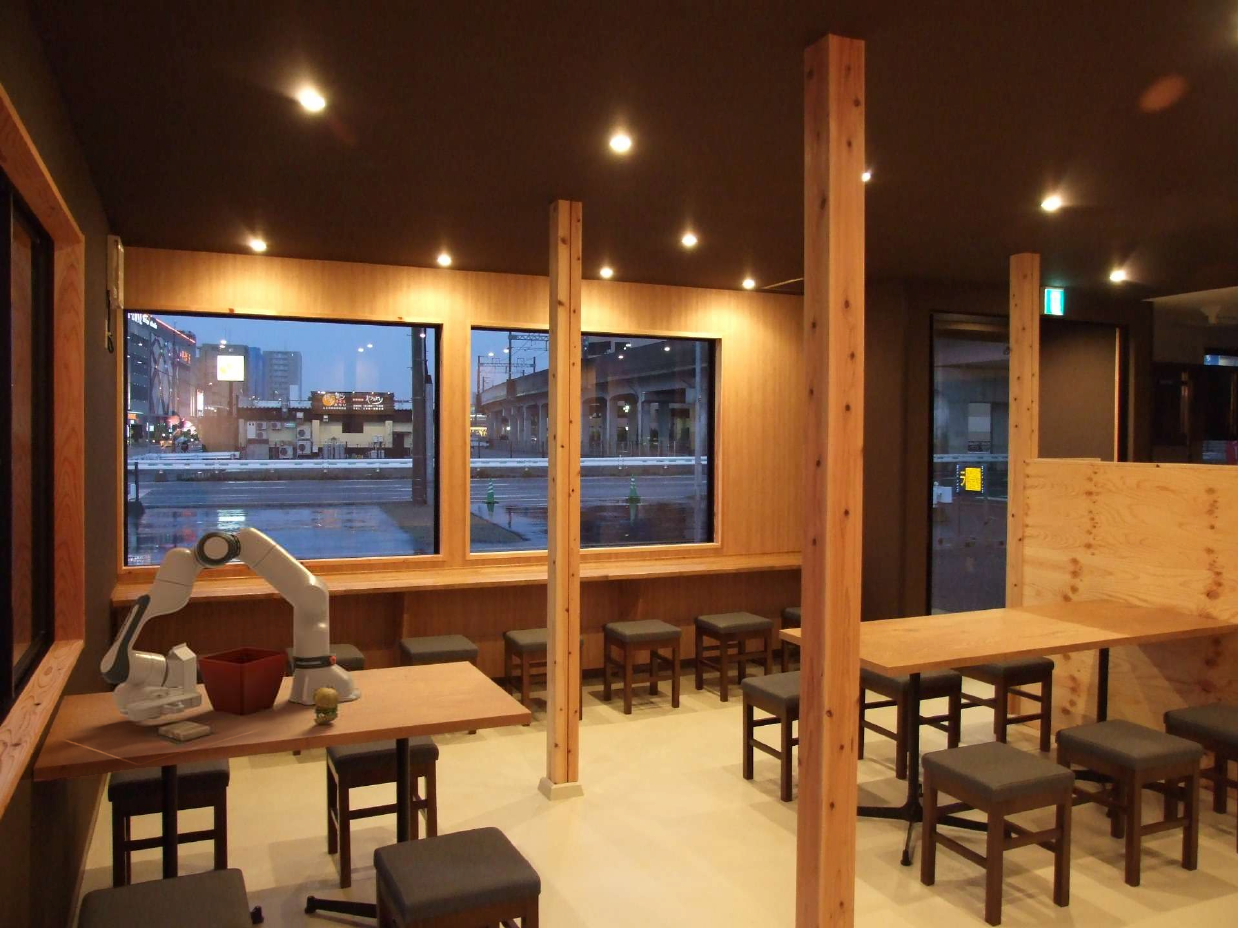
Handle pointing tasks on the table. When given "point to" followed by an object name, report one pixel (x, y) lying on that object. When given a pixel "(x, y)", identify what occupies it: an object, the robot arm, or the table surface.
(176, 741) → the mat
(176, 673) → the milk carton
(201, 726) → the picture frame
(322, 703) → the hamburger
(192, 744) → the table surface
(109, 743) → the table surface
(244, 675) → the plant pot
